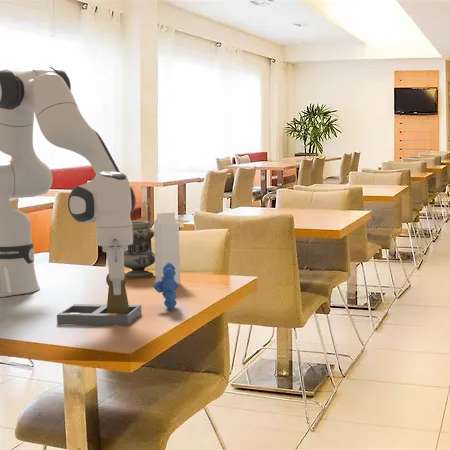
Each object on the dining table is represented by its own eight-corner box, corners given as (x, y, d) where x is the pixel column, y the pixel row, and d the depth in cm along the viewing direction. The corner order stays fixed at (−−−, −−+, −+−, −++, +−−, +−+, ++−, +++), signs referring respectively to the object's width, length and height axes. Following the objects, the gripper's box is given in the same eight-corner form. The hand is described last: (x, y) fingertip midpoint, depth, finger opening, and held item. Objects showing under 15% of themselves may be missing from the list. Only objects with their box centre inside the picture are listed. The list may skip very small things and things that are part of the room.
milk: (155, 283, 235) (152, 212, 233) (173, 280, 238) (170, 211, 236) (162, 286, 230) (159, 214, 227) (181, 283, 233) (178, 212, 230)
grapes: (154, 304, 205) (152, 260, 203) (178, 303, 205) (177, 259, 204) (154, 313, 193) (152, 267, 192) (180, 312, 194) (179, 266, 193)
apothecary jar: (137, 271, 256) (135, 219, 254) (164, 274, 249) (162, 220, 247) (112, 277, 247) (109, 222, 244) (139, 280, 240) (137, 224, 237)
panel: (57, 324, 185) (56, 314, 184) (74, 313, 196) (74, 303, 196) (128, 325, 182) (127, 315, 181) (141, 314, 193) (141, 304, 193)
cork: (128, 318, 185) (126, 274, 184) (103, 318, 185) (102, 274, 184) (131, 312, 191) (130, 269, 190) (108, 312, 191) (106, 270, 190)
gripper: (129, 242, 176) (131, 300, 178) (126, 232, 196) (128, 284, 198) (101, 243, 175) (104, 301, 177) (101, 233, 195) (104, 285, 197)
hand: (117, 292), depth 187 cm, fingers closed on cork, 4 cm apart
